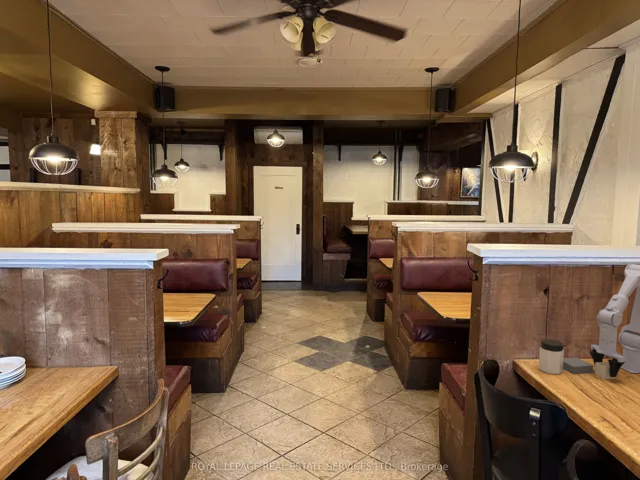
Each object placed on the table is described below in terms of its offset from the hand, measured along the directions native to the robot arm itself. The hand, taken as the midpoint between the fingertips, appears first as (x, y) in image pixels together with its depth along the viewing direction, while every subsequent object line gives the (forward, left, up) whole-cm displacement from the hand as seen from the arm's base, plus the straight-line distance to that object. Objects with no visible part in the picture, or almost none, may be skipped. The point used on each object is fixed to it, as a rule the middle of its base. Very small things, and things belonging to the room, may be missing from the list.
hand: (605, 372), depth 167 cm
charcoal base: (+7, -8, -2) cm, 11 cm away
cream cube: (0, 0, -2) cm, 2 cm away
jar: (+18, -8, -2) cm, 20 cm away
